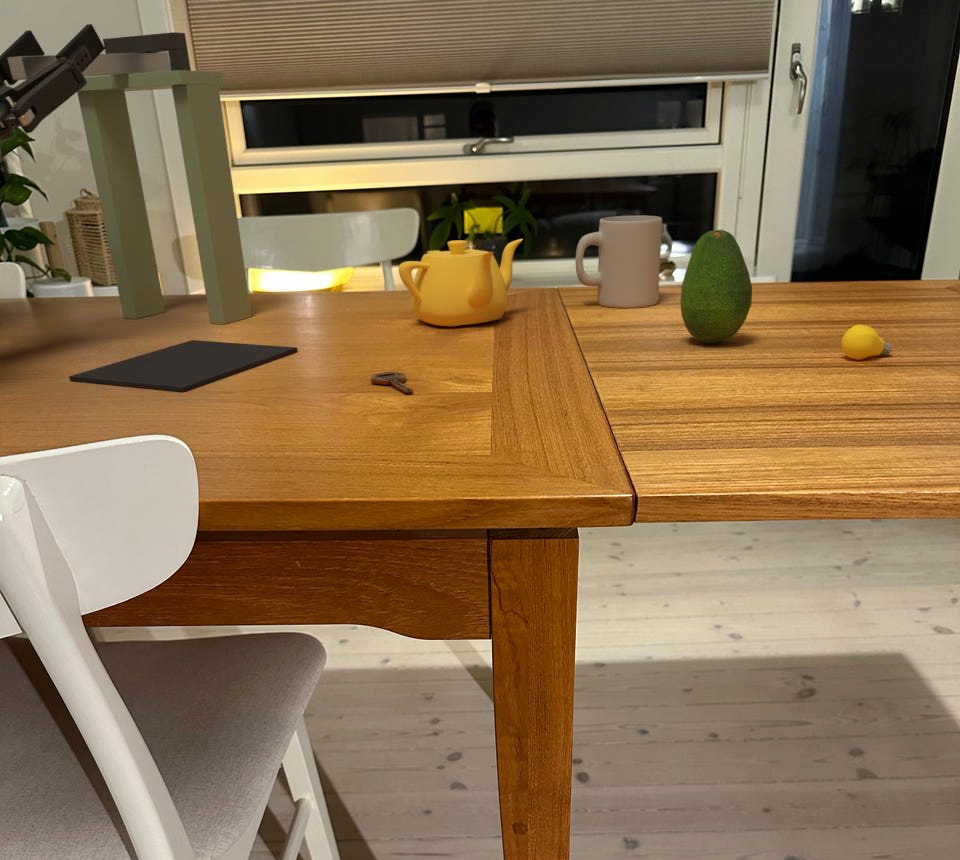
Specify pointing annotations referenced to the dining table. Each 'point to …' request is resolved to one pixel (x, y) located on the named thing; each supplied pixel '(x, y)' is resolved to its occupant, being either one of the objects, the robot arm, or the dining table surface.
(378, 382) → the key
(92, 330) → the dining table surface
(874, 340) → the light bulb
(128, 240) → the stand
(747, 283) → the fruit
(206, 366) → the mat
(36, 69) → the bar
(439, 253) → the teapot
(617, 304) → the mug
